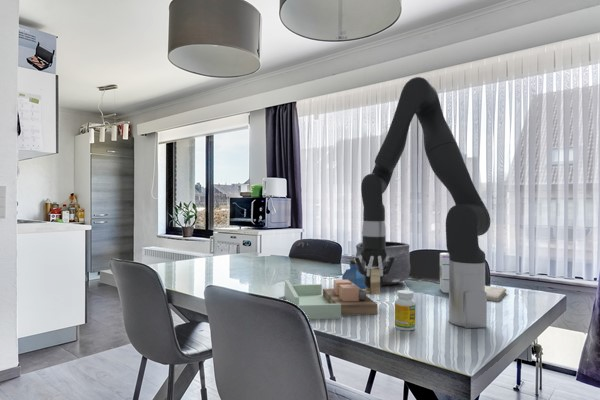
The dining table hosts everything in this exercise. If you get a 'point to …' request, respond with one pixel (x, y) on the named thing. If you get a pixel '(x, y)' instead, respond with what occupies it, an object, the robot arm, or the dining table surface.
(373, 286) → the scraper
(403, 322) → the supplement bottle
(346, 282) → the tile
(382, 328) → the dining table surface
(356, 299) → the peach block
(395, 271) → the tea bowl
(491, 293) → the washcloth
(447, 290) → the syrup box
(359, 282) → the perfume bottle
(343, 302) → the block
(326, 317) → the tray
